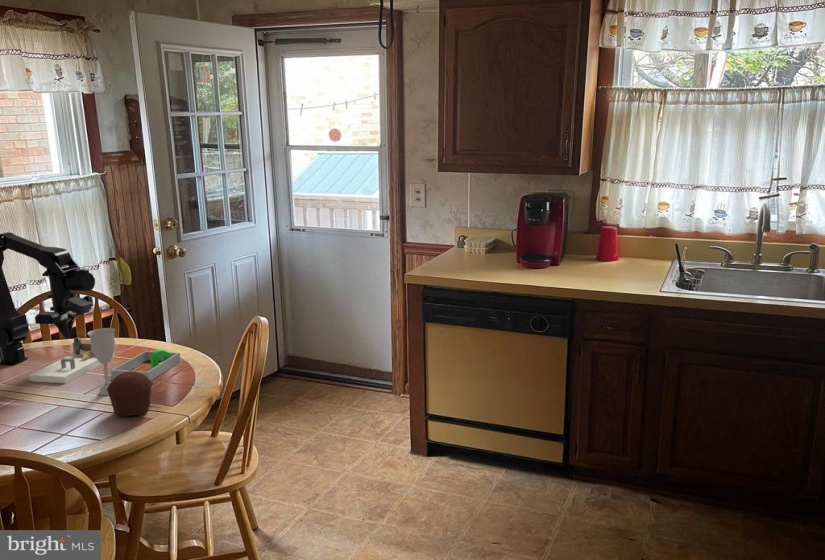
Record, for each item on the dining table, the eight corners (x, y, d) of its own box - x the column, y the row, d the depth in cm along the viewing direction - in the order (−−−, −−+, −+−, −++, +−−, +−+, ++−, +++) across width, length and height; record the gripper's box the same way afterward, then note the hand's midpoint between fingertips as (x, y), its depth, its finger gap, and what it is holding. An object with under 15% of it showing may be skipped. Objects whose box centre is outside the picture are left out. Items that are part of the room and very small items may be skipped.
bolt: (70, 357, 216) (68, 341, 214) (90, 347, 225) (88, 331, 224) (87, 358, 214) (85, 341, 213) (107, 348, 224) (105, 332, 223)
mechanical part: (159, 380, 208) (157, 355, 206) (151, 375, 212) (149, 351, 210) (196, 371, 216) (195, 347, 214) (188, 367, 220) (186, 343, 218)
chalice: (116, 385, 198) (110, 326, 194) (126, 391, 193) (119, 331, 189) (90, 392, 193) (83, 331, 189) (99, 398, 188) (92, 336, 184)
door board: (29, 381, 202) (27, 363, 201) (82, 355, 225) (80, 339, 224) (65, 383, 200) (63, 365, 199) (114, 356, 223) (113, 341, 222)
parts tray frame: (111, 379, 202) (110, 370, 202) (146, 359, 220) (145, 350, 219) (148, 382, 200) (147, 372, 200) (180, 361, 218) (179, 352, 217)
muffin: (107, 405, 183) (103, 371, 181) (150, 397, 189) (147, 363, 186) (112, 421, 173) (108, 385, 171) (157, 412, 178) (154, 376, 176)
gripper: (63, 298, 199) (70, 348, 202) (103, 284, 216) (108, 330, 220) (30, 296, 201) (37, 347, 204) (72, 283, 219) (78, 329, 222)
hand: (67, 338), depth 212 cm, fingers closed
